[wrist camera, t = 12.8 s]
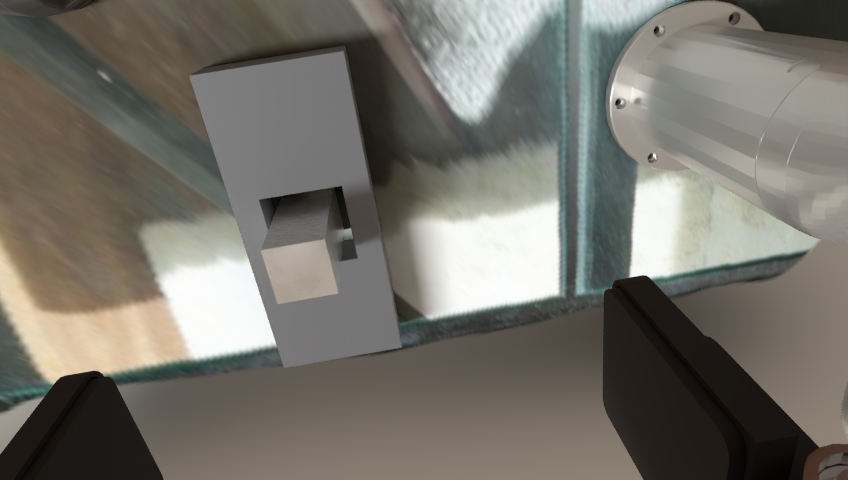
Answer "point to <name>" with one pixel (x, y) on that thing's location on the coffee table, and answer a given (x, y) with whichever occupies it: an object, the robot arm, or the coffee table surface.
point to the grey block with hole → (301, 172)
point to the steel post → (304, 246)
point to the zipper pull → (40, 7)
